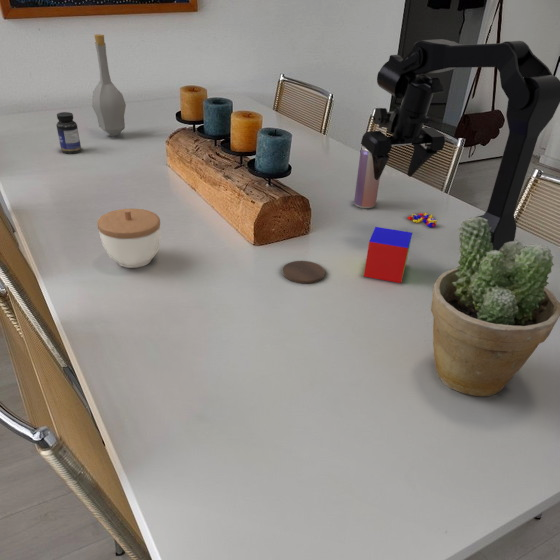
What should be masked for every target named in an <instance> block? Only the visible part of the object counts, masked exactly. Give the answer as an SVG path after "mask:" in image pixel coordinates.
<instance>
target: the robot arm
mask: <svg viewBox="0 0 560 560" xmlns="http://www.w3.org/2000/svg"><path fill="white" fill-rule="evenodd" d="M457 68H496V69H497V71H498V73H499V80H500V86H501V89H502V91H503V92H504V95H505V96H506V97H507V106H506V112H505V116H506V121H507V122H506V123H507V126H508V136H507V140H506V143H505V147H504V149H503V154H502V157H501V161H500V164H499V167H498V171H497V174H496V178H495V181H494V183H493V184H494V185H493V188H492V192H491V195H490V198H489V202H488V206H487V209H486V211H485V212H484V214H482V215H478V216H477V217H482V218H484V219H486V220H488V221H487V223H488V226H489V228H491V229H490V231H489V232H490V233H491V235H490V236H491V239H490V240H491V241H490V243H492V244H493V245H492V246H493V250H497V251H499V249H500V248H502V247H503V245H504V243H507V242H512V241H515V239H516V234H517V223H516V218H515V211H516V207H517V205H518V201H519V198H520V195H521V192H522V189H523V186H524V183H525V179H526V177H527V174H528V170H529V167H530V164H531V161H532V157H533V154H534V151H535V149H536V144H537V142H538V138H539V137H540V134H541V133H542V132H543V131H544V129H546V126H547V125H548V124H549V123H550V121H551V120H552V119H553V118H554V115H555V113H556V111H557V109H558V107H559V105H560V79H559V78H558V77H557V76H555V75H553V73H552V71H551V70H550V68H549V67H548V66H547V65H546V64H545V63H544V62H543V61H542V60H541V59H540V58H538V56H537V55H535V54H534V52H533V51H532V50H531V48H530V46H529V45H528V44H527V43H526V42H525V41H524V40H512V41H511V40H509V41H502V42H499V43H498V42H497V43H475V44H474V43H473V44H461V43H458V42H456V41H453V40H449V39H445V38H444V39H443V38H441V39H440V38H439V39H438V38H437V39H421V40H418V41H416V42H414V45H413V47H412V49H411V51H410V52H409V53H408V54H407V55H406V56H405V57H404V58H403V57H402V56H401V55H399V54H390V55H389V57H388V61H386V62H385V63H383V65H382V66H381V68H380V69H379V71H378V73H377V75H376V83H377V85H378V87H379V88H381V89H382V90H384V91H385V92H386V93H389V94H390V95H392V96H393V97H395V98H397V99H402V100H401V104H400V106H396V107H395V109H394V110H393V111H388V110H387V108H386V107H376V108H375V110H374V113H373V120H372V122H373V124H374V125H378V128H379V129H382V128H385V129H386V132H388V133H389V134H391V136H387V135H386V134H385V133H383V132H382V131H381V130H372V131H370V130H369V131H366V132H364V133H363V135H362V138H361V142H360V144H361V145H362V146H364V147H365V148H366V149H367V150H368V151H369V152H370V153H371V154H372V158H373V168H374V178H375V179H376V180H378V179H379V178H380V179H381V176H382V174H383V172H384V171H385V167H386V166H387V164H388V161H389V159H390V157H391V156H390V155H389V153H391V151H392V148H393V147H400V146H401V147H402V146H413V152H412V155H411V158H410V162H409V165H408V169H407V176H408V177H409V178H411V177H412V176H413V175H414V174H415V173H416V172H417V171H418V170H419V169H420V168H421V167H423V165H424V164H425V163H426V162H427V161H428V160H430V159H431V158H432V157H433V156H435V155H437V153H438V152H439V151H443V150H444V146H445V145H446V144H445V143H446V139H445V136H444V135H443V134H442V133H441V132H439V131H438V130H437V129H435V128H434V127H424V124H429V122H430V117H429V116H428V112H429V108H430V105H431V103H432V99H433V96H434V94H439V93H444V91H445V88H444V86H443V84H442V82H441V78H440V77H432V78H431V77H430V76H428V74H429V75H430V74H439V73H444V72H448V71H452V70H454V69H457ZM475 217H476V216H474V217H473V218H475Z"/></svg>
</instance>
